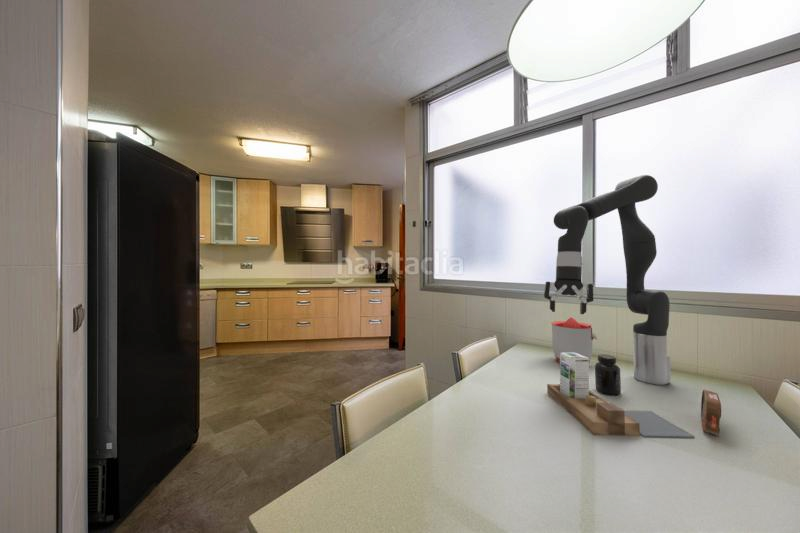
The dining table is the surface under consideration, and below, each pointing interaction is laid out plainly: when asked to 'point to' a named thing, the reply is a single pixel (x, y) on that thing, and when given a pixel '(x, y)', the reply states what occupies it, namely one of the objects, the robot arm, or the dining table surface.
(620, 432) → the body
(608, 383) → the supplement bottle
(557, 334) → the citrus juicer
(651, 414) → the mat
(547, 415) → the dining table surface
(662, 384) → the robot arm
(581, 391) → the syrup box
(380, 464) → the dining table surface
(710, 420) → the tin
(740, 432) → the dining table surface
